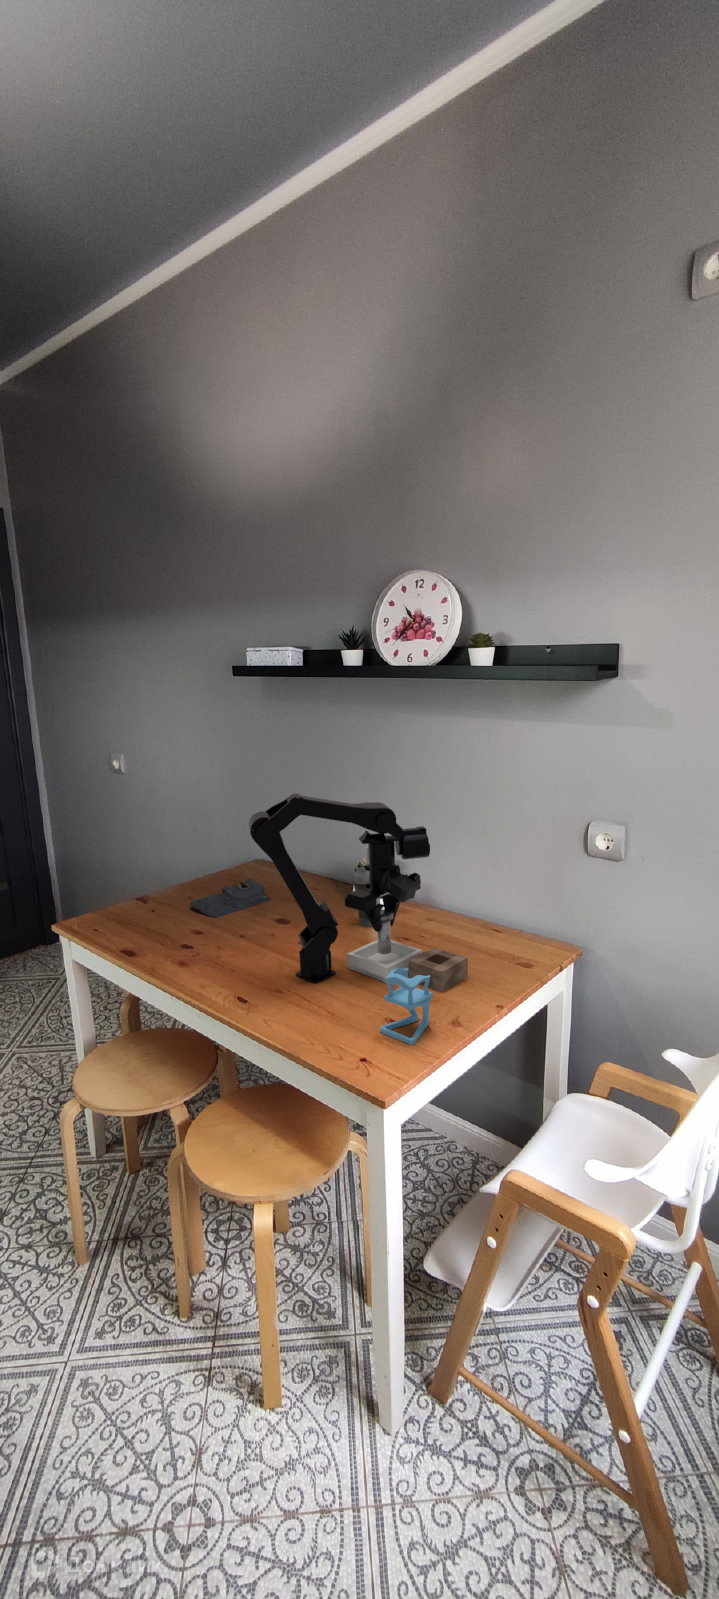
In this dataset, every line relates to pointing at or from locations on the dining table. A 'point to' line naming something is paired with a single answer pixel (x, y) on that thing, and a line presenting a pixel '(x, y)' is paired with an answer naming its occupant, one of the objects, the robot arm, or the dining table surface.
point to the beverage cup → (360, 884)
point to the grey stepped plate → (232, 899)
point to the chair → (407, 1002)
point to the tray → (381, 959)
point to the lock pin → (385, 932)
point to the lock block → (439, 968)
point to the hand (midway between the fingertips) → (383, 928)
